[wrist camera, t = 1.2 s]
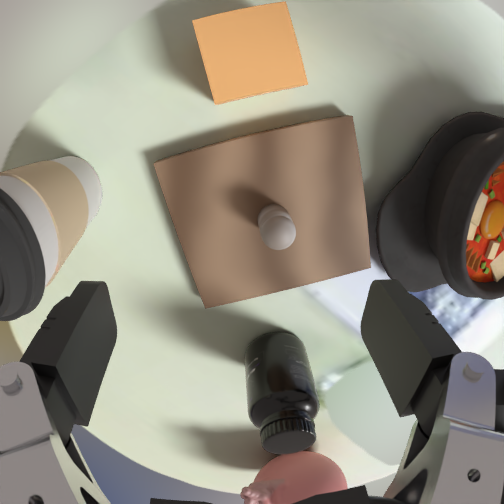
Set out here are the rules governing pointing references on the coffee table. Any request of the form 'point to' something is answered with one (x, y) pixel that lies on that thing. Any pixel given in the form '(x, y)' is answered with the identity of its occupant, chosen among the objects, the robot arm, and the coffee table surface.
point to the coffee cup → (41, 226)
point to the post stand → (269, 209)
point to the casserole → (450, 212)
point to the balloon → (294, 479)
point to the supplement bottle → (281, 393)
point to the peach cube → (250, 52)
